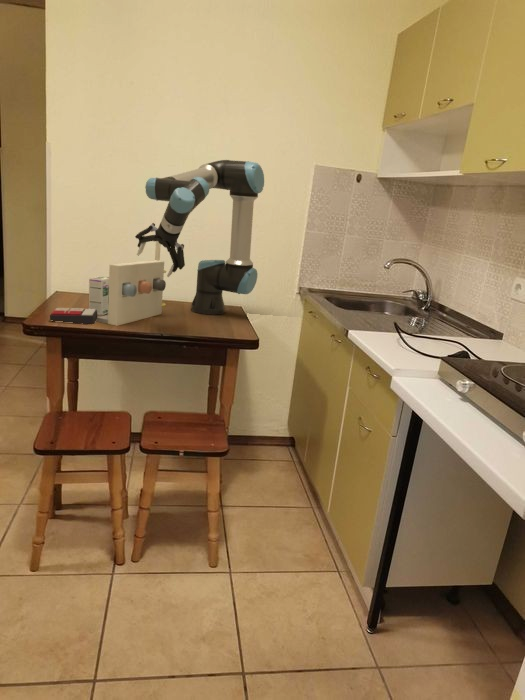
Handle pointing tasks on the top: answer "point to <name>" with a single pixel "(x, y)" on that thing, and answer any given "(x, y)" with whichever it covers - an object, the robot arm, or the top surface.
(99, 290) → the syrup box
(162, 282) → the charcoal button
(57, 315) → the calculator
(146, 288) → the terracotta button
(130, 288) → the slate blue button
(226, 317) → the top surface
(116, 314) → the control panel
